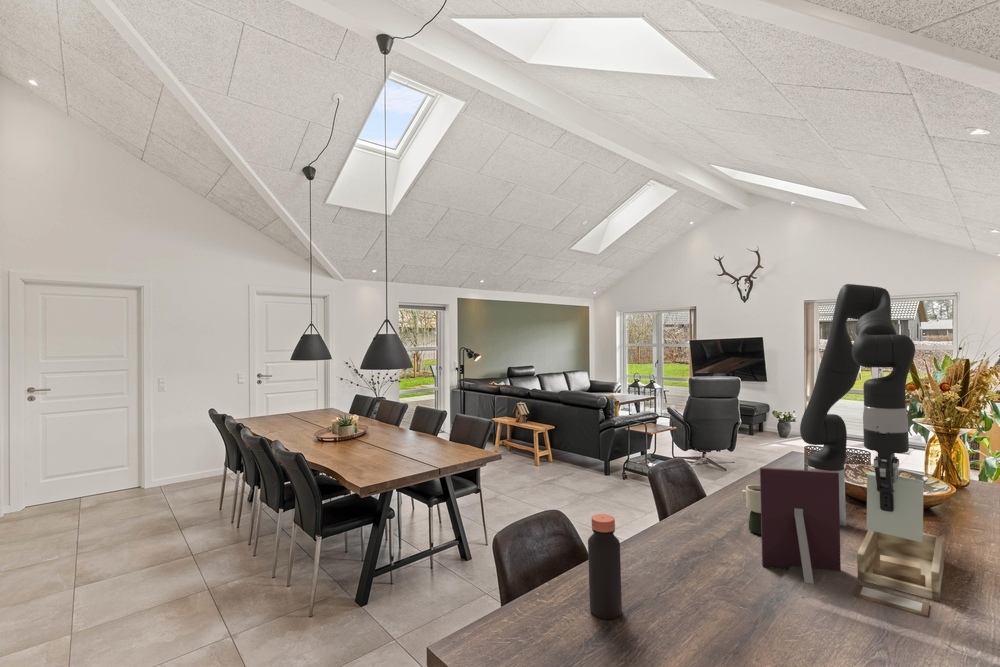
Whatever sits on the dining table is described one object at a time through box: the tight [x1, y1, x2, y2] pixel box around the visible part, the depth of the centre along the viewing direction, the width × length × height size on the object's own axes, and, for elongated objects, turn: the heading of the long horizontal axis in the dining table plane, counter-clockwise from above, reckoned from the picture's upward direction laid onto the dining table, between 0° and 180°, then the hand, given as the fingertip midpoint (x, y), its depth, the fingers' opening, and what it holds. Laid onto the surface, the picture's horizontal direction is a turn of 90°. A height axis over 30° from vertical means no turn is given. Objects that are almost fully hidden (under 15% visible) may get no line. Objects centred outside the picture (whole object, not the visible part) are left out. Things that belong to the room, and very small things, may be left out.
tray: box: [856, 530, 945, 602], centre depth 115 cm, size 14×24×7 cm, turn 135°
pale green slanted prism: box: [866, 470, 924, 542], centre depth 102 cm, size 9×3×12 cm, turn 46°
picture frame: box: [759, 467, 842, 585], centre depth 114 cm, size 17×10×25 cm, turn 71°
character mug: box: [741, 484, 761, 535], centre depth 141 cm, size 11×7×13 cm, turn 30°
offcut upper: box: [880, 555, 921, 580], centre depth 109 cm, size 7×3×2 cm, turn 51°
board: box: [853, 583, 930, 618], centre depth 102 cm, size 12×6×2 cm, turn 45°
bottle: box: [587, 513, 623, 620], centre depth 103 cm, size 7×7×20 cm
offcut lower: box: [872, 563, 926, 587], centre depth 109 cm, size 9×4×2 cm, turn 45°
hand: (888, 508), depth 102 cm, fingers closed on pale green slanted prism, 3 cm apart
